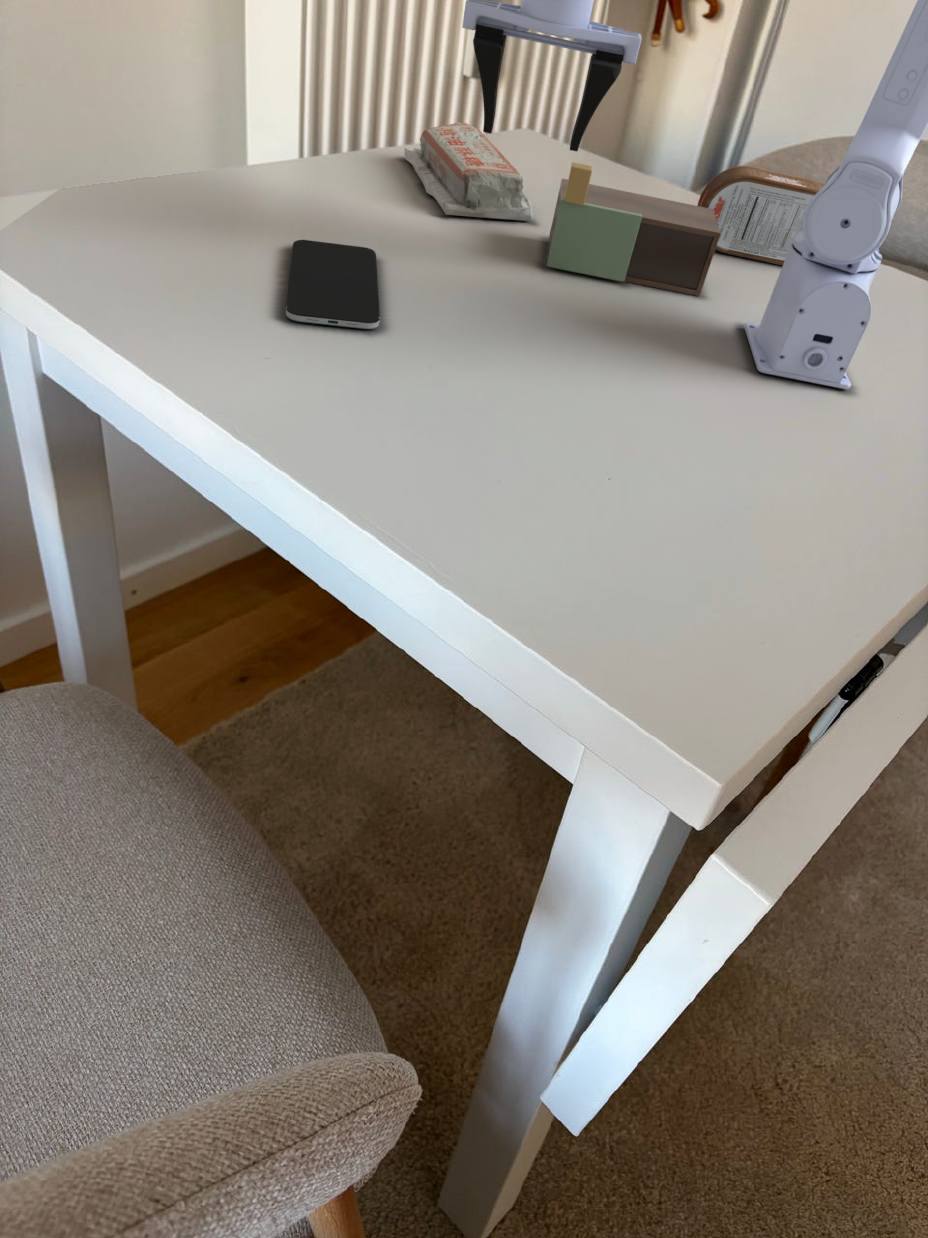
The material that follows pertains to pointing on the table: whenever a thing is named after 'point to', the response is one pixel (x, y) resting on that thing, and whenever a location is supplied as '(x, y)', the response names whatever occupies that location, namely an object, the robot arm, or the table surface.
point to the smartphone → (333, 285)
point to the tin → (758, 211)
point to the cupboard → (661, 238)
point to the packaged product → (469, 174)
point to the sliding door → (591, 232)
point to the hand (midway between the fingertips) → (530, 138)
